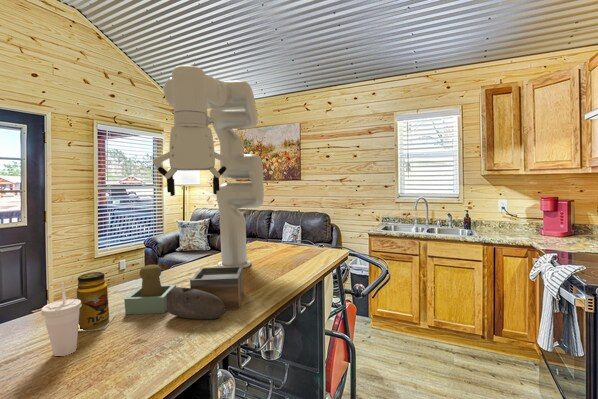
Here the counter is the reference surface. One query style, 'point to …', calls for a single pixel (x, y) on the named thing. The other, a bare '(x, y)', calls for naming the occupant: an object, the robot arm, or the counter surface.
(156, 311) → the shaker holder
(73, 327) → the smoothie
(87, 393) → the counter surface
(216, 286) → the gray open box
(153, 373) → the counter surface
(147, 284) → the tan rounded piece
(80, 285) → the condiment
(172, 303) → the perforated stone tool
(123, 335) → the counter surface
